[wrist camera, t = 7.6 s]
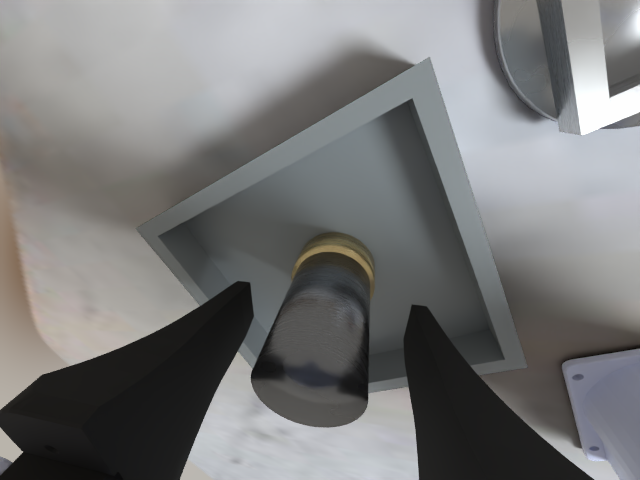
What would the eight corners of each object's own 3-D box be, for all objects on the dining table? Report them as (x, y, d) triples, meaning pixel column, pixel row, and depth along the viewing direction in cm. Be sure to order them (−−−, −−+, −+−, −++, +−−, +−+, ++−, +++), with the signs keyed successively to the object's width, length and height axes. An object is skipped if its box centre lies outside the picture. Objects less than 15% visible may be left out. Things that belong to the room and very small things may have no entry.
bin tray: (505, 328, 15) (528, 367, 13) (294, 372, 20) (284, 406, 18) (417, 65, 10) (429, 56, 8) (169, 209, 15) (135, 228, 13)
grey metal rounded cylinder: (387, 248, 13) (398, 375, 7) (358, 305, 15) (348, 444, 9) (310, 221, 13) (256, 325, 7) (291, 282, 15) (236, 404, 9)
